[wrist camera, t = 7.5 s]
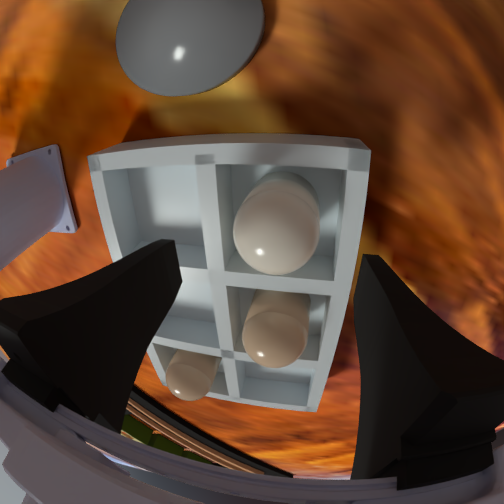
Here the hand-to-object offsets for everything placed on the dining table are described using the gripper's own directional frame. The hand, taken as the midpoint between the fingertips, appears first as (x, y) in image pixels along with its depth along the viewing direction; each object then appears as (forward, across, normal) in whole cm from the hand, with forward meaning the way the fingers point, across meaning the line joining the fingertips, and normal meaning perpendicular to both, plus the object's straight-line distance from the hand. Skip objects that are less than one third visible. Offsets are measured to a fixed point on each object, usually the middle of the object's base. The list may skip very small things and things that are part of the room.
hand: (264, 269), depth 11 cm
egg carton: (+7, +3, +7) cm, 11 cm away
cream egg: (+6, 0, 0) cm, 6 cm away
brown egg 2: (+6, 0, +7) cm, 9 cm away
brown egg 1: (+6, +7, +14) cm, 17 cm away
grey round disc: (+7, +5, -11) cm, 14 cm away
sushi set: (+8, +26, +56) cm, 62 cm away
